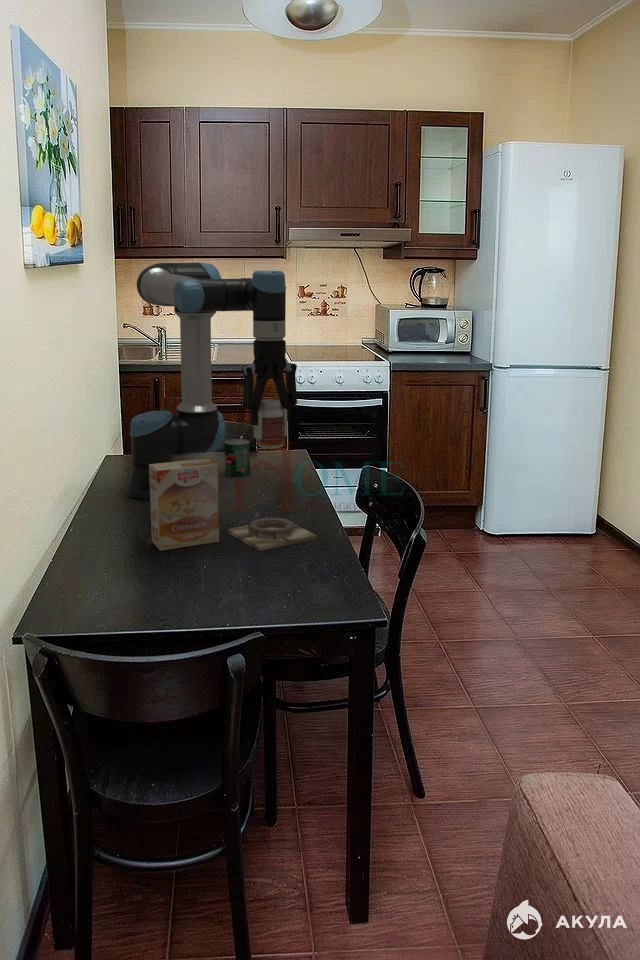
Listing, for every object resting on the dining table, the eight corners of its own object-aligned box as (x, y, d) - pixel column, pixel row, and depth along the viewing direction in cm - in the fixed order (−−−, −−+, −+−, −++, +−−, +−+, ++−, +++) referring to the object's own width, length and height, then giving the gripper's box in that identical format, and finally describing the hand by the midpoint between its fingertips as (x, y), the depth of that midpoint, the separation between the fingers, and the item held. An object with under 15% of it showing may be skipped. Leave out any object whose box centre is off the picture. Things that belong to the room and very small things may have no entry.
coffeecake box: (160, 551, 197) (156, 470, 192) (151, 542, 203) (147, 463, 198) (220, 542, 204) (218, 463, 199) (210, 533, 210) (208, 457, 205)
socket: (227, 532, 210) (227, 521, 210) (282, 522, 219) (282, 511, 218) (259, 551, 197) (259, 538, 197) (316, 539, 206) (316, 527, 205)
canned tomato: (255, 474, 267) (254, 440, 264) (240, 480, 260) (239, 445, 257) (235, 471, 271) (234, 437, 268) (219, 476, 264) (219, 442, 261)
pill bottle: (288, 447, 202) (288, 401, 199) (266, 450, 198) (265, 403, 196) (275, 442, 207) (274, 397, 204) (253, 445, 203) (252, 399, 201)
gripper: (240, 342, 188) (242, 444, 194) (313, 338, 198) (312, 435, 204) (225, 339, 194) (227, 438, 200) (296, 335, 204) (296, 430, 210)
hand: (270, 436), depth 202 cm, fingers closed on pill bottle, 6 cm apart
